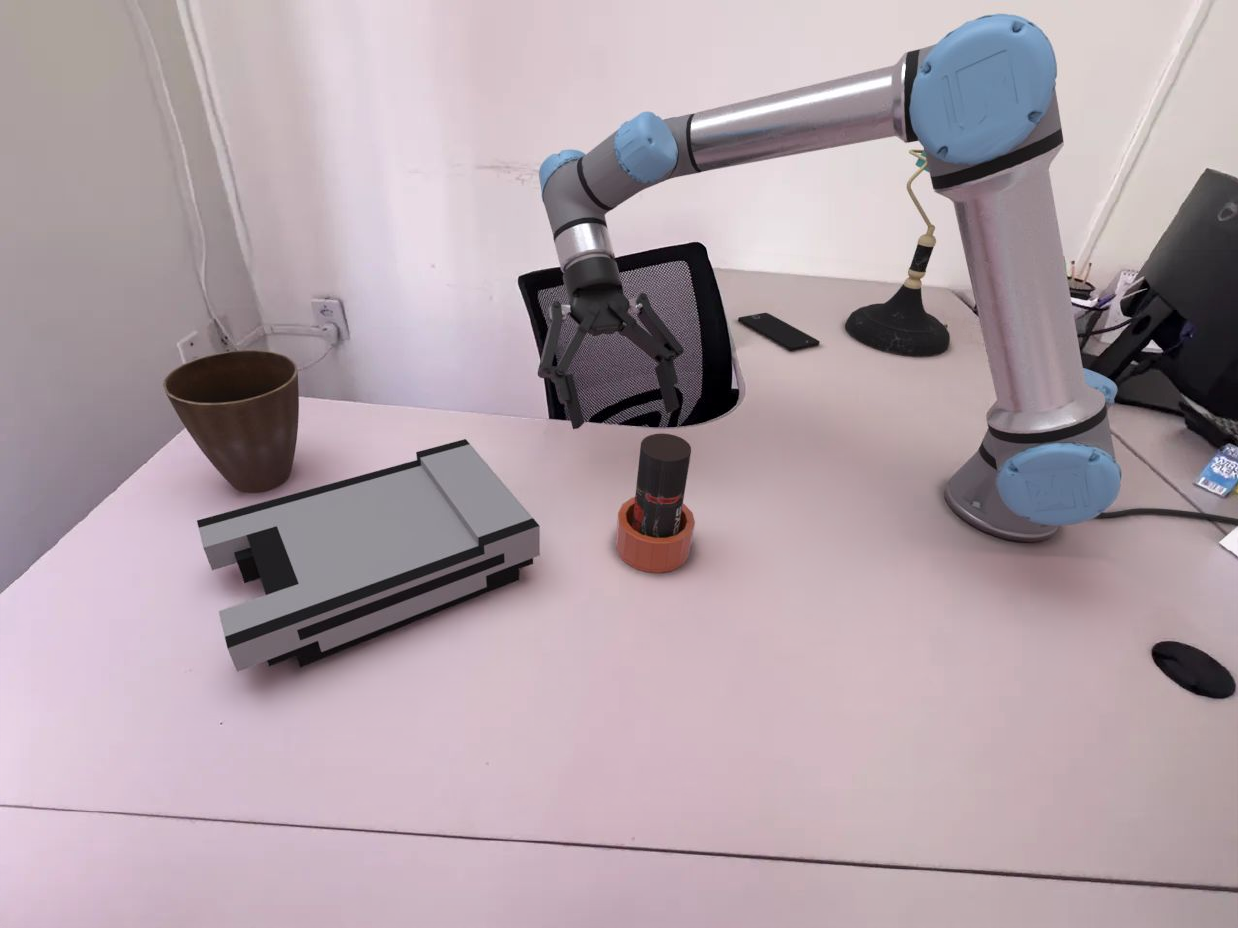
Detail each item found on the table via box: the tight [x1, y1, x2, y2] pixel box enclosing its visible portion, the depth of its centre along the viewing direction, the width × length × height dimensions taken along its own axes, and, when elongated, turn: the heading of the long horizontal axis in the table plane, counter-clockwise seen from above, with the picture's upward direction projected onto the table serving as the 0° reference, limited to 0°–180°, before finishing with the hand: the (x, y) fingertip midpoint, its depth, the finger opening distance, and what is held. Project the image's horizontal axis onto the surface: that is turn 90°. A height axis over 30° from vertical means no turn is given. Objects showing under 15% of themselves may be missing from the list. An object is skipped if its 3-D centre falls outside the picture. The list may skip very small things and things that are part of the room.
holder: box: [615, 496, 696, 574], centre depth 83 cm, size 10×10×5 cm
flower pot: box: [162, 349, 300, 494], centre depth 87 cm, size 15×15×16 cm
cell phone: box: [737, 312, 820, 352], centre depth 147 cm, size 9×18×1 cm, turn 31°
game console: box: [196, 438, 541, 673], centre depth 75 cm, size 21×32×8 cm, turn 124°
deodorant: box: [632, 433, 692, 538], centre depth 80 cm, size 6×6×15 cm
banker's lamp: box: [844, 149, 951, 358], centre depth 139 cm, size 26×23×40 cm
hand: (627, 418), depth 85 cm, fingers open, 13 cm apart
